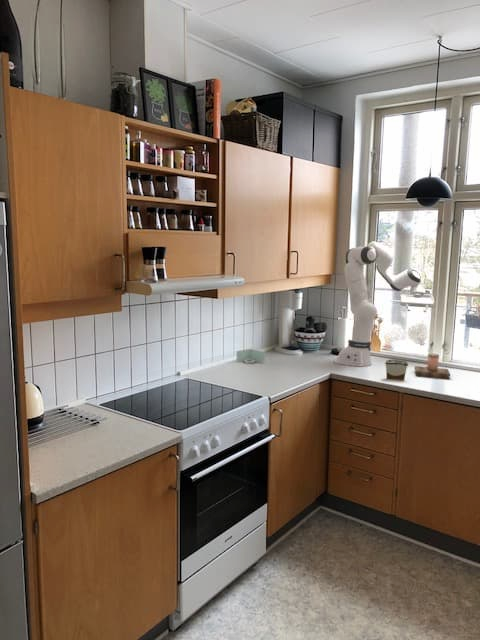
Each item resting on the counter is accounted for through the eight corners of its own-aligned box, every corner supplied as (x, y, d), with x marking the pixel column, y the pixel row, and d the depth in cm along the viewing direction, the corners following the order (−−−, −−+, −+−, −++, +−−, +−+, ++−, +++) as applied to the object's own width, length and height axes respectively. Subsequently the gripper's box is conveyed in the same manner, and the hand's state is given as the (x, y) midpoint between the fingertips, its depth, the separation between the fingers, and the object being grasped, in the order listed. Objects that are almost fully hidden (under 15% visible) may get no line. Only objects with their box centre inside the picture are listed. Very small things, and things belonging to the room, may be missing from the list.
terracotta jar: (427, 370, 291) (428, 355, 289) (426, 368, 296) (427, 353, 295) (438, 371, 289) (439, 355, 288) (436, 369, 295) (438, 354, 294)
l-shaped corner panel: (236, 363, 309) (236, 351, 308) (250, 360, 317) (250, 348, 316) (250, 367, 300) (251, 354, 299) (264, 364, 309) (265, 352, 308)
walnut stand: (415, 376, 289) (416, 371, 289) (414, 370, 302) (414, 366, 301) (449, 379, 285) (450, 374, 284) (447, 373, 297) (447, 368, 297)
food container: (404, 377, 285) (405, 360, 284) (406, 380, 279) (408, 362, 278) (381, 376, 286) (383, 358, 285) (383, 379, 280) (385, 361, 279)
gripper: (400, 289, 324) (399, 306, 316) (434, 291, 319) (434, 309, 311) (399, 296, 329) (399, 313, 321) (433, 298, 324) (433, 315, 316)
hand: (417, 311), depth 316 cm, fingers open, 8 cm apart
